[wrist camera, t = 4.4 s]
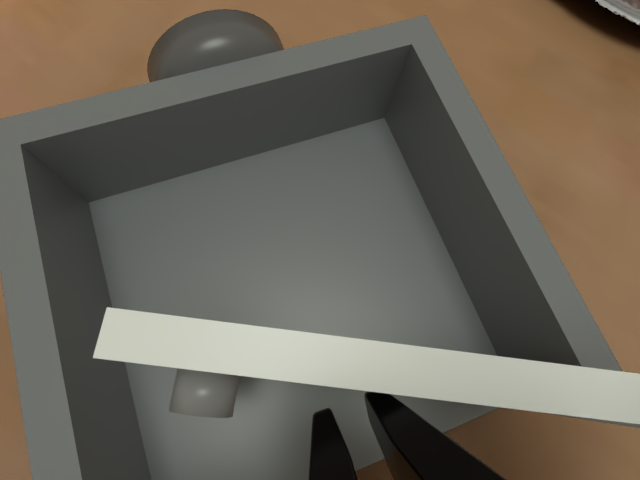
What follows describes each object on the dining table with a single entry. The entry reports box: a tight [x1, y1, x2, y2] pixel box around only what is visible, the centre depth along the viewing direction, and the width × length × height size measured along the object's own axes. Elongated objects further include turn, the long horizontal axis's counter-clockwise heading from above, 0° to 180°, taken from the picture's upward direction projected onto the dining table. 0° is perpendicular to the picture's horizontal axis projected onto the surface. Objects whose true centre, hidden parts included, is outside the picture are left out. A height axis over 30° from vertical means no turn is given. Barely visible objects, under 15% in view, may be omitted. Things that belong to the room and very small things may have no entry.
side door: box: [93, 307, 640, 428], centre depth 13 cm, size 13×2×9 cm, turn 83°
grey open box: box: [0, 9, 623, 480], centre depth 16 cm, size 18×17×7 cm
